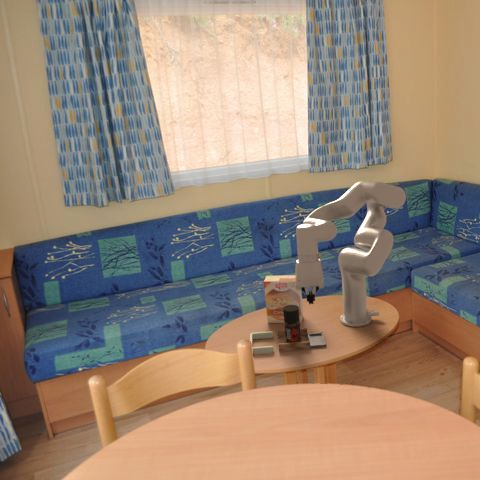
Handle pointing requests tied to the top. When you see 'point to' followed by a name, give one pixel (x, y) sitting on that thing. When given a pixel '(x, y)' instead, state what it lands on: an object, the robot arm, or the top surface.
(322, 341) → the tray
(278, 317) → the coffeecake box
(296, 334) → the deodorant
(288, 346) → the channel
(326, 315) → the top surface
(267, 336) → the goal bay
